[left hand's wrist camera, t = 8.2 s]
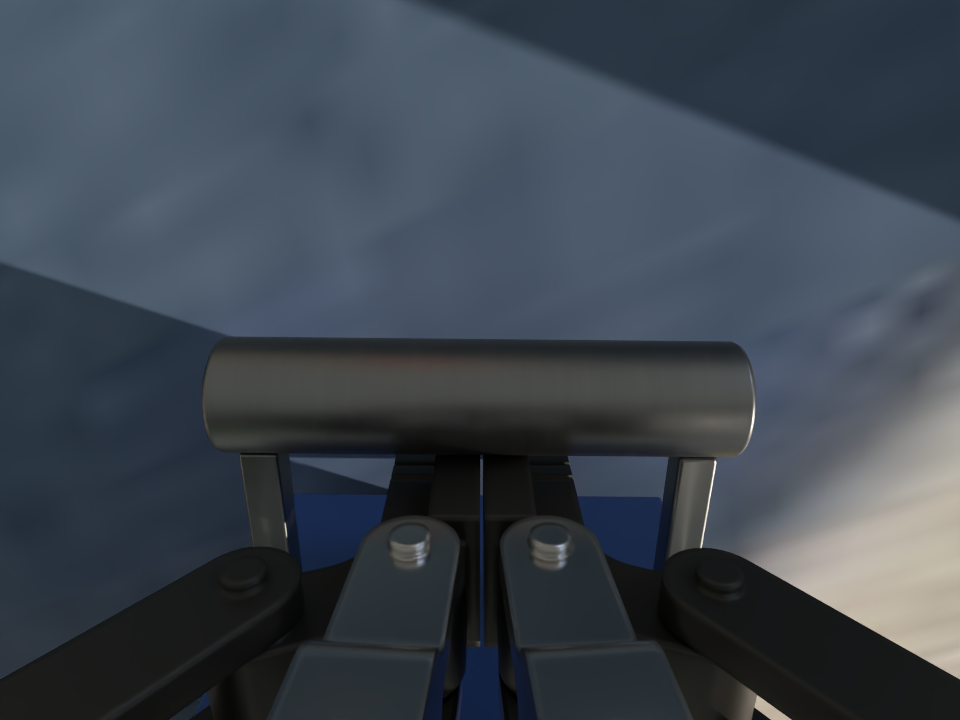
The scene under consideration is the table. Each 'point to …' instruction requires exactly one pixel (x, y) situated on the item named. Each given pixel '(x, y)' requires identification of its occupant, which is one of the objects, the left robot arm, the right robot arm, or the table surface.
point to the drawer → (476, 434)
